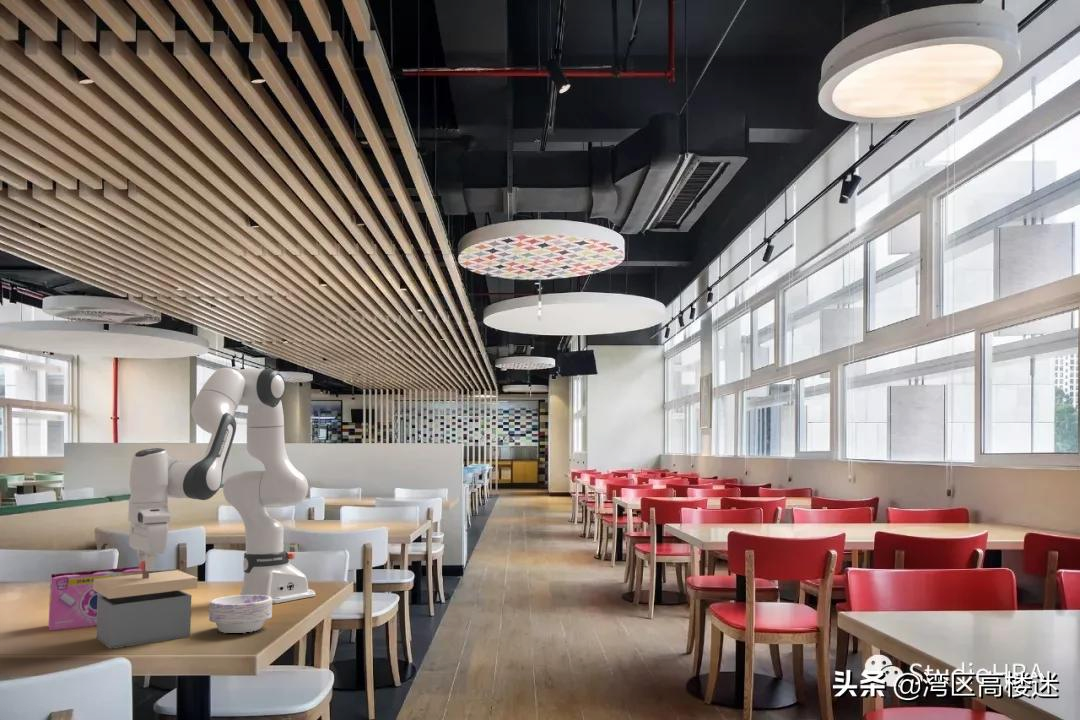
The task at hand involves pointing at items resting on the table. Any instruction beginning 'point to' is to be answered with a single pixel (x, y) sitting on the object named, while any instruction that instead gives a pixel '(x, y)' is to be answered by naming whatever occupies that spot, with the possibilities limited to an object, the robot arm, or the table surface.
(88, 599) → the gum box
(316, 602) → the table surface
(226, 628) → the paper bowls
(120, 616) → the carton
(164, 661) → the table surface
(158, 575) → the lid
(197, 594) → the table surface
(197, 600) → the table surface
